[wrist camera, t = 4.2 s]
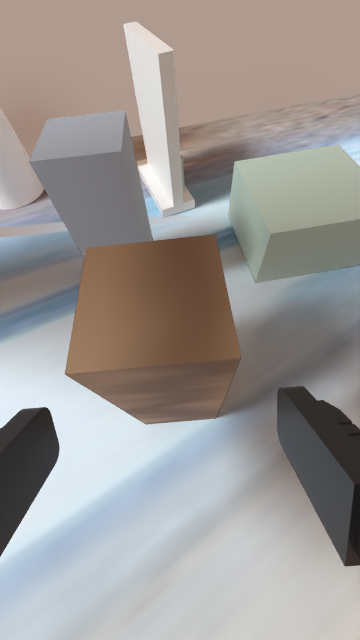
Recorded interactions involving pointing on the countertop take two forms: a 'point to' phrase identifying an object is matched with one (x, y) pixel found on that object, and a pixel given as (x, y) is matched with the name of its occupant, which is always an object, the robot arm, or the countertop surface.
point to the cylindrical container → (15, 171)
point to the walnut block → (155, 329)
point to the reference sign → (158, 119)
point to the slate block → (93, 179)
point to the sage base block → (297, 212)
